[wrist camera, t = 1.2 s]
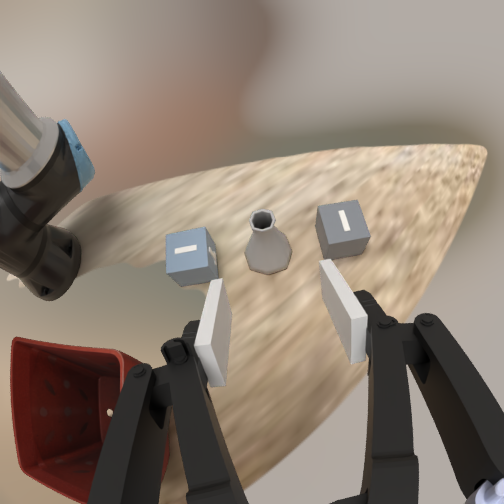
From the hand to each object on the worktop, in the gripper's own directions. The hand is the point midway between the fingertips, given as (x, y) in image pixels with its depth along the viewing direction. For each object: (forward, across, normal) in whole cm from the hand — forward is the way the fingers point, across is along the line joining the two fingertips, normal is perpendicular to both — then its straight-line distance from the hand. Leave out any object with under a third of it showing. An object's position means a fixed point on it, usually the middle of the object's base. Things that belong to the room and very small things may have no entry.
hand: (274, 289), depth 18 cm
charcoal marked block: (+25, +11, -7) cm, 28 cm away
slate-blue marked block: (+25, -11, -7) cm, 28 cm away
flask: (+25, 0, -7) cm, 26 cm away
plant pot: (+9, -25, -23) cm, 35 cm away
